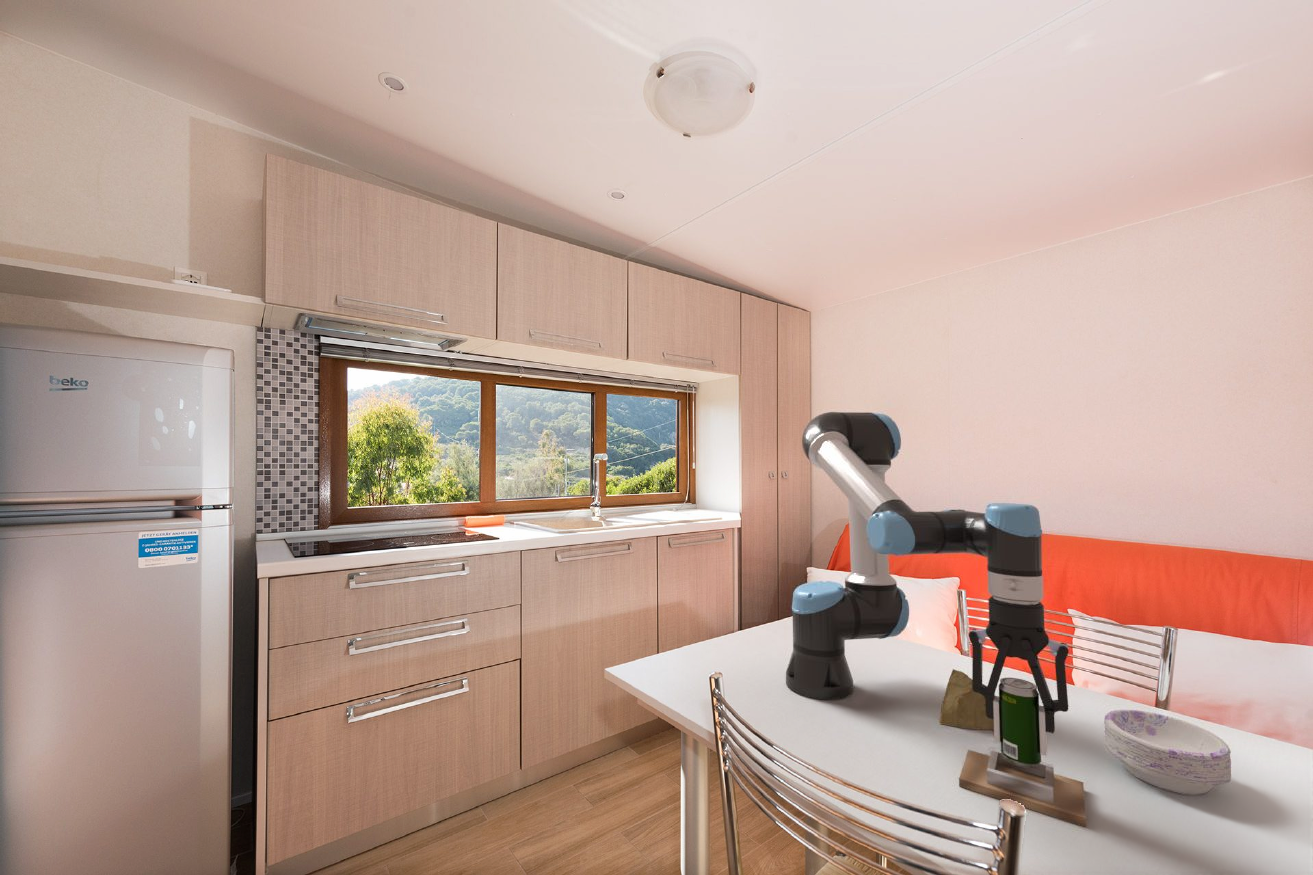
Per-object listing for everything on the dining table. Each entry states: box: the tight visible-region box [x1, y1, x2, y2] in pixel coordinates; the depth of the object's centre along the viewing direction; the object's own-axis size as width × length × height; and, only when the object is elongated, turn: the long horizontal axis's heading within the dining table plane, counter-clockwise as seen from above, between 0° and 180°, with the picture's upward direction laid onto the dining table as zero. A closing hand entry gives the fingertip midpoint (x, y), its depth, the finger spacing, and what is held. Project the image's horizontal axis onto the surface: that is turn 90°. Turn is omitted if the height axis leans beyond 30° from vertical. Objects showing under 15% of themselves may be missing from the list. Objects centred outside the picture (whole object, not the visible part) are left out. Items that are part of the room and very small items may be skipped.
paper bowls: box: [1103, 709, 1232, 796], centre depth 89 cm, size 15×15×8 cm
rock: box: [938, 668, 994, 731], centre depth 106 cm, size 11×9×10 cm
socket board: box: [958, 747, 1087, 828], centre depth 86 cm, size 16×11×3 cm
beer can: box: [998, 677, 1042, 768], centre depth 86 cm, size 5×5×12 cm
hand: (1020, 744), depth 86 cm, fingers closed on beer can, 5 cm apart
